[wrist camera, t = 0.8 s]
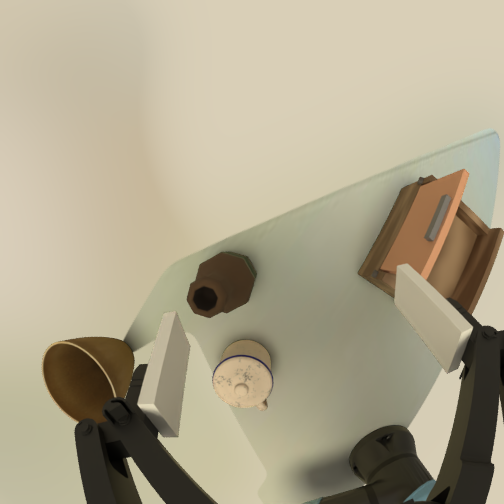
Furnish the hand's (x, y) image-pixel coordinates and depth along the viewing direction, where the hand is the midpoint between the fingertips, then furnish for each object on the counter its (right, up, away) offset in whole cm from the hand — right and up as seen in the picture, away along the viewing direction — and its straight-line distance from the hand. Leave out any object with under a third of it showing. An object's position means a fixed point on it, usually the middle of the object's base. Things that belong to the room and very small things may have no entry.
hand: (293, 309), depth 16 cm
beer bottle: (-5, -1, +33) cm, 33 cm away
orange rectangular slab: (+20, +7, +23) cm, 31 cm away
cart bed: (+27, +3, +31) cm, 41 cm away
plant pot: (-28, -17, +34) cm, 47 cm away
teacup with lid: (-3, -17, +33) cm, 37 cm away
